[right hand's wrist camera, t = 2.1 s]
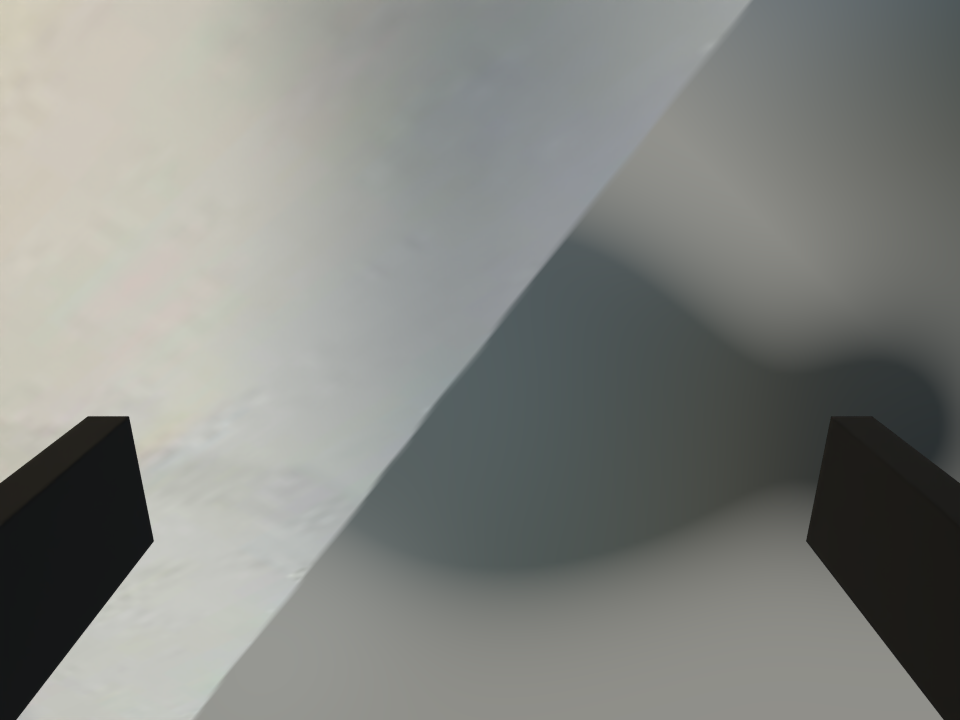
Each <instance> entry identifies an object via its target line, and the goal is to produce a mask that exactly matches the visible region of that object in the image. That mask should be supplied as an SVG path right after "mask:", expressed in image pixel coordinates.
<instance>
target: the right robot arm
mask: <svg viewBox="0 0 960 720" xmlns="http://www.w3.org/2000/svg"><path fill="white" fill-rule="evenodd" d="M153 542H154V540H153V535H152V530H151V525H150V520H149V515H148V510H147V505H146V500H145V495H144V490H143V485H142V480H141V475H140V470H139V465H138V460H137V455H136V450H135V444H134V439H133V434H132V429H131V424H130V419H129V416H88V417H87V418H85V419H84V420H83V421H81V422H80V423H79V424H77V425H76V426H75V427H73V428H72V429H71V430H69V431H68V432H67V433H66V434H64V435H63V436H62V437H60V438H59V439H58V440H56V441H55V442H54V443H52V444H51V445H50V446H48V447H47V448H46V449H45V450H43V451H42V452H41V453H39V454H38V455H37V456H35V457H34V458H33V459H31V460H30V461H29V462H28V463H26V464H25V465H24V466H22V467H21V468H20V469H18V470H17V471H16V472H14V473H13V474H12V475H10V476H9V477H8V478H7V479H5V480H4V481H3V482H1V483H0V720H16V719H17V718H18V717H19V716H20V714H21V713H22V712H23V710H24V709H25V708H26V706H27V705H28V704H29V703H30V701H31V700H32V699H33V697H34V696H35V695H36V693H37V692H38V691H39V690H40V688H41V687H42V686H43V684H44V683H45V682H46V680H47V679H48V678H49V677H50V675H51V674H52V673H53V671H54V670H55V669H56V668H57V666H58V665H59V664H60V662H61V661H62V660H63V658H64V657H65V656H66V655H67V653H68V652H69V651H70V649H71V648H72V647H73V645H74V644H75V643H76V642H77V640H78V639H79V638H80V636H81V635H82V634H83V632H84V631H85V630H86V629H87V627H88V626H89V625H90V623H91V622H92V621H93V619H94V618H95V617H96V616H97V614H98V613H99V612H100V610H101V609H102V608H103V606H104V605H105V604H106V603H107V601H108V600H109V599H110V597H111V596H112V595H113V593H114V592H115V591H116V590H117V588H118V587H119V586H120V584H121V583H122V582H123V580H124V579H125V578H126V577H127V575H128V574H129V573H130V571H131V570H132V569H133V568H134V566H135V565H136V564H137V562H138V561H139V560H140V558H141V557H142V556H143V555H144V553H145V552H146V551H147V549H148V548H149V547H150V545H151V544H152V543H153ZM806 542H807V543H808V544H809V545H810V547H811V548H812V549H813V551H814V552H815V553H816V555H817V556H818V557H819V558H820V560H821V561H822V562H823V564H824V565H825V566H826V568H827V569H828V570H829V571H830V573H831V574H832V575H833V577H834V578H835V579H836V580H837V582H838V583H839V584H840V586H841V587H842V588H843V589H844V591H845V592H846V593H847V595H848V596H849V597H850V599H851V600H852V601H853V603H854V604H855V605H856V606H857V608H858V609H859V610H860V612H861V613H862V614H863V616H864V617H865V618H866V619H867V621H868V622H869V623H870V625H871V626H872V627H873V628H874V630H875V631H876V632H877V634H878V635H879V636H880V638H881V639H882V640H883V641H884V643H885V644H886V645H887V647H888V648H889V649H890V651H891V652H892V653H893V654H894V656H895V657H896V658H897V660H898V661H899V662H900V664H901V665H902V666H903V668H904V669H905V670H906V671H907V673H908V674H909V675H910V677H911V678H912V679H913V680H914V682H915V683H916V684H917V686H918V687H919V688H920V690H921V691H922V692H923V693H924V695H925V696H926V697H927V699H928V700H929V701H930V703H931V704H932V705H933V706H934V708H935V709H936V710H937V712H938V713H939V714H940V715H941V717H942V718H943V719H944V720H960V483H959V482H957V481H956V480H955V479H953V478H952V477H951V476H949V475H948V474H947V473H946V472H944V471H943V470H942V469H940V468H939V467H938V466H936V465H935V464H934V463H932V462H931V461H930V460H929V459H927V458H926V457H925V456H923V455H922V454H921V453H919V452H918V451H917V450H915V449H914V448H913V447H912V446H910V445H909V444H908V443H906V442H905V441H904V440H902V439H901V438H900V437H898V436H897V435H896V434H894V433H893V432H892V431H891V430H889V429H888V428H887V427H885V426H884V425H883V424H881V423H880V422H879V421H877V420H876V419H875V418H873V417H872V416H832V417H831V419H830V424H829V429H828V435H827V439H826V445H825V450H824V455H823V460H822V465H821V470H820V475H819V480H818V485H817V490H816V495H815V500H814V505H813V510H812V515H811V520H810V525H809V530H808V535H807V540H806Z"/></svg>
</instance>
